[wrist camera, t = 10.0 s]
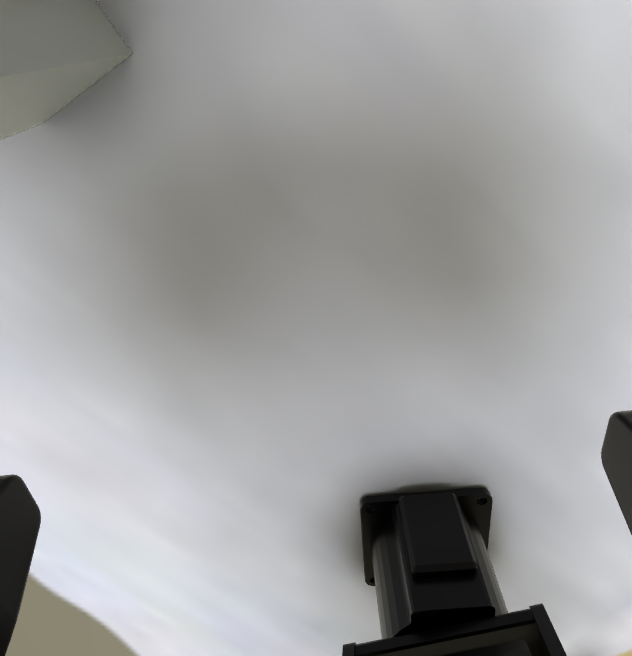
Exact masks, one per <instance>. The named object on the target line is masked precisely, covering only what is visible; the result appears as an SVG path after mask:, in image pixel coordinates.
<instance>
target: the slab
mask: <svg viewBox="0 0 632 656" xmlns="http://www.w3.org/2000/svg"><path fill="white" fill-rule="evenodd" d="M131 54H132V52H131V50H130V49H129V47H128V46H127V45H126V43H125V42H124V40H123V39H122V38H121V36H120V35H119V33H118V32H117V30H116V29H115V28H114V26H113V25H112V23H111V22H110V21H109V19H108V18H107V16H106V15H105V14H104V12H103V11H102V9H101V8H100V6H99V5H98V4H97V2H96V1H95V0H0V140H1V139H3V138H6V137H9V136H11V135H14V134H16V133H19V132H22V131H24V130H27V129H29V128H32V127H35V126H37V125H40V124H42V123H44V122H45V121H46V120H48V119H49V118H50V117H51V116H53V115H54V114H55V113H57V112H58V111H59V110H60V109H62V108H63V107H64V106H66V105H67V104H68V103H69V102H71V101H72V100H73V99H75V98H76V97H77V96H78V95H80V94H81V93H82V92H84V91H85V90H86V89H87V88H89V87H90V86H91V85H93V84H94V83H95V82H96V81H98V80H99V79H100V78H102V77H103V76H104V75H105V74H107V73H108V72H109V71H111V70H112V69H113V68H114V67H116V66H117V65H118V64H120V63H121V62H122V61H123V60H125V59H126V58H127V57H129V56H130V55H131Z"/></svg>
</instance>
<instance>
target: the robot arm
mask: <svg viewBox="0 0 632 656" xmlns="http://www.w3.org/2000/svg"><path fill="white" fill-rule="evenodd" d="M601 458H602V464H603V467H604V470H605V472H606V475H607V477H608V479H609V482H610V484H611V487H612V489H613V491H614V494H615V496H616V499H617V501H618V503H619V506H620V508H621V511H622V513H623V515H624V518H625V520H626V523H627V525H628V527H629V530H630V532H631V535H632V410H631V411H621V412H615V413H613V414H612V415H611V417H610V419H609V422H608V426H607V430H606V434H605V438H604V442H603V447H602V452H601ZM480 498H481V499H480ZM368 506H372V507H368ZM491 509H492V497H491V494H490V492H489V491H488V490H487V489H485V488H473V489H460V490H447V491H433V492H420V493H407V494H393V495H380V496H368V497H365V498H363V499H362V500H361V501H360V513H361V528H362V543H363V557H364V572H365V581H366V583H367V584H368V585H370V586H376V594H377V602H378V610H379V618H380V626H381V635H382V639H381V640H376V641H371V642H366V643H361V644H357V645H356V643H350V644H345V645H343V653H342V656H567V655H566V653H565V651H564V649H563V647H562V645H561V642H560V640H559V638H558V636H557V634H556V632H555V630H554V627H553V625H552V623H551V621H550V619H549V617H548V614H547V612H546V610H545V608H544V606H543V604H537V605H532V606H529V607H530V609H525V610H520V611H515V612H511V613H508V611H507V608H506V605H505V602H504V599H503V596H502V594H501V591H500V588H499V585H498V582H497V579H496V576H495V573H494V570H493V567H492V564H491V561H490V558H489V555H488V552H487V548H488V539H489V529H490V519H491ZM40 523H41V514H40V510H39V507H38V505H37V504H36V502H35V500H34V498H33V497H32V495H31V493H30V492H29V490H28V488H27V486H26V485H25V483H24V481H23V480H22V478H20V477H19V476H17V475H4V476H0V656H5V654H6V651H7V648H8V645H9V643H10V640H11V637H12V633H13V630H14V627H15V624H16V621H17V617H18V614H19V610H20V606H21V602H22V598H23V594H24V590H25V586H26V582H27V578H28V573H29V569H30V565H31V561H32V557H33V553H34V549H35V544H36V540H37V536H38V532H39V528H40Z"/></svg>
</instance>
